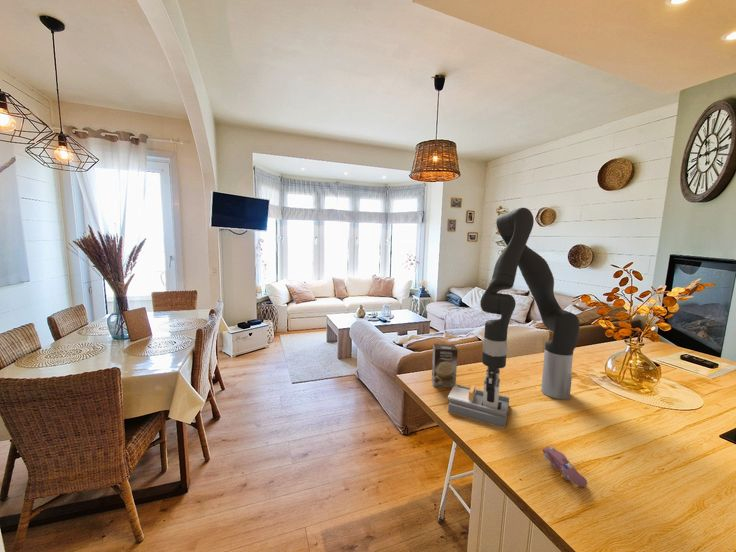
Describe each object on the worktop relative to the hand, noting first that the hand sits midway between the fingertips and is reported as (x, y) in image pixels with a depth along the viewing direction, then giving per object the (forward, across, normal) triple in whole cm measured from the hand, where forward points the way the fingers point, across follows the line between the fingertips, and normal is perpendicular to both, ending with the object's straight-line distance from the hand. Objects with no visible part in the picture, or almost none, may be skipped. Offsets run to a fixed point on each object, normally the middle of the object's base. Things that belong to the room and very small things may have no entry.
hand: (491, 398), depth 103 cm
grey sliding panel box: (+5, 0, -4) cm, 6 cm away
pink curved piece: (+5, +20, +20) cm, 29 cm away
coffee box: (+5, -12, -20) cm, 24 cm away
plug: (+3, 0, 0) cm, 3 cm away
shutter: (+2, 0, -10) cm, 10 cm away
